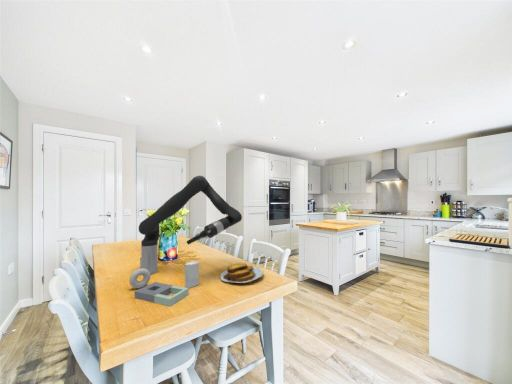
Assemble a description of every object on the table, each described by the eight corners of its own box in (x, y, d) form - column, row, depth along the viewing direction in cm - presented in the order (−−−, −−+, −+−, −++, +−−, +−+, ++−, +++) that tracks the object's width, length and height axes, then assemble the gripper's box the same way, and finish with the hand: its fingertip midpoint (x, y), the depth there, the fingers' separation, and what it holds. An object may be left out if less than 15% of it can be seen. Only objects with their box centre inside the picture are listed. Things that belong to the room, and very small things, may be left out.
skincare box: (194, 282, 118) (194, 260, 118) (199, 285, 115) (199, 262, 115) (184, 286, 113) (184, 263, 113) (189, 288, 110) (189, 265, 110)
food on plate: (259, 288, 111) (258, 275, 111) (213, 285, 116) (213, 272, 116) (265, 271, 136) (265, 260, 136) (228, 269, 141) (228, 259, 141)
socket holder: (134, 297, 101) (134, 291, 101) (155, 287, 112) (155, 281, 112) (170, 306, 92) (170, 299, 93) (188, 294, 104) (188, 288, 104)
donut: (130, 292, 107) (130, 271, 107) (128, 289, 109) (128, 270, 110) (151, 286, 114) (151, 267, 114) (149, 284, 116) (149, 265, 117)
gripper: (222, 232, 122) (197, 245, 111) (211, 236, 133) (188, 249, 122) (216, 220, 123) (191, 232, 112) (206, 226, 133) (182, 237, 122)
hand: (190, 241), depth 117 cm, fingers open, 8 cm apart
